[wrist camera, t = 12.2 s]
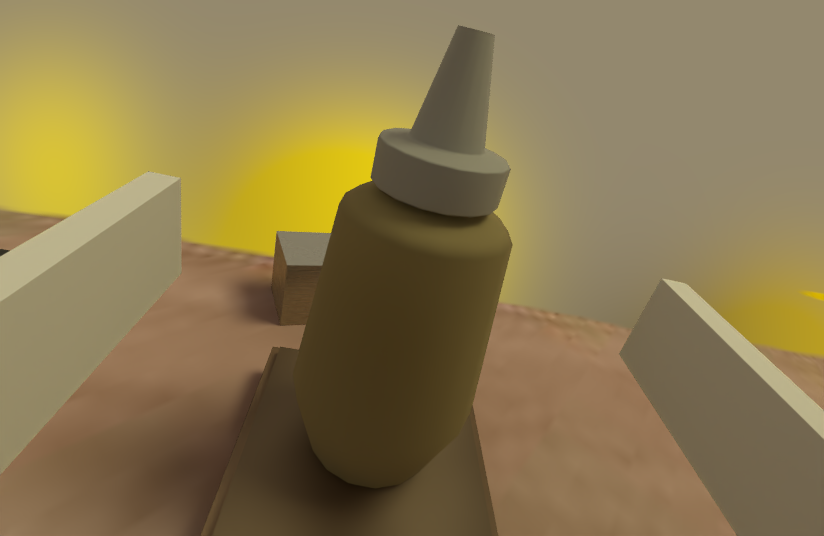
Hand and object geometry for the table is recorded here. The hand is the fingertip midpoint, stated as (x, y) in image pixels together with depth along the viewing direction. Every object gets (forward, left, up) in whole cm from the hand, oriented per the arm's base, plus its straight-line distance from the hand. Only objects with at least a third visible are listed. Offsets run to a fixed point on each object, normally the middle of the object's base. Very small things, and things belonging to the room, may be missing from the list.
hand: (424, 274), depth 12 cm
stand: (0, -5, -14) cm, 15 cm away
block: (+5, -19, -14) cm, 24 cm away
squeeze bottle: (0, -5, -12) cm, 13 cm away
